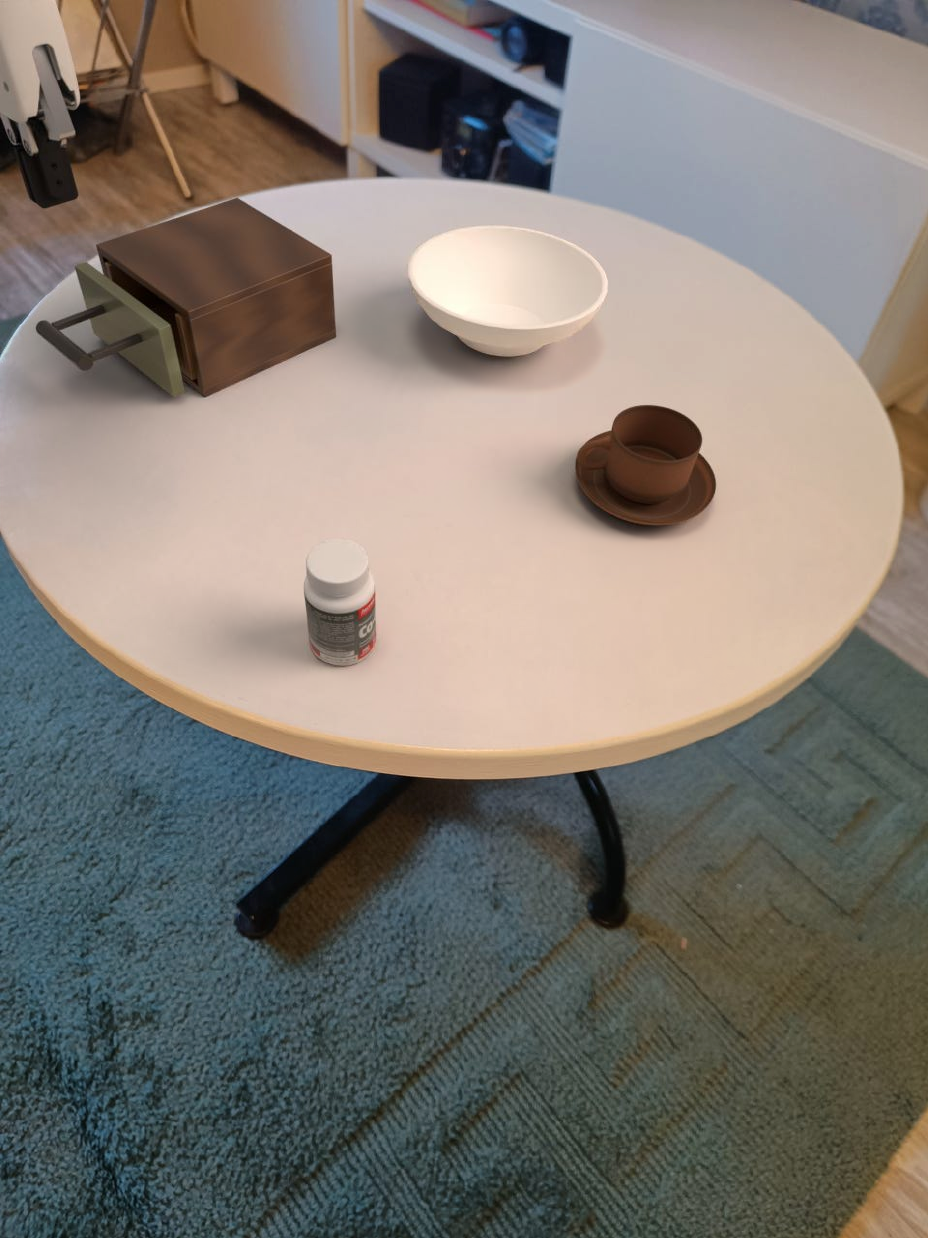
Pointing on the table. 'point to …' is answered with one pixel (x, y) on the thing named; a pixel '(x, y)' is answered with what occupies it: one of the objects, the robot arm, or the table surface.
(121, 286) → the drawer
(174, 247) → the cabinet
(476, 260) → the bowl
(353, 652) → the pill bottle
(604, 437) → the cup and saucer
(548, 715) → the table surface
